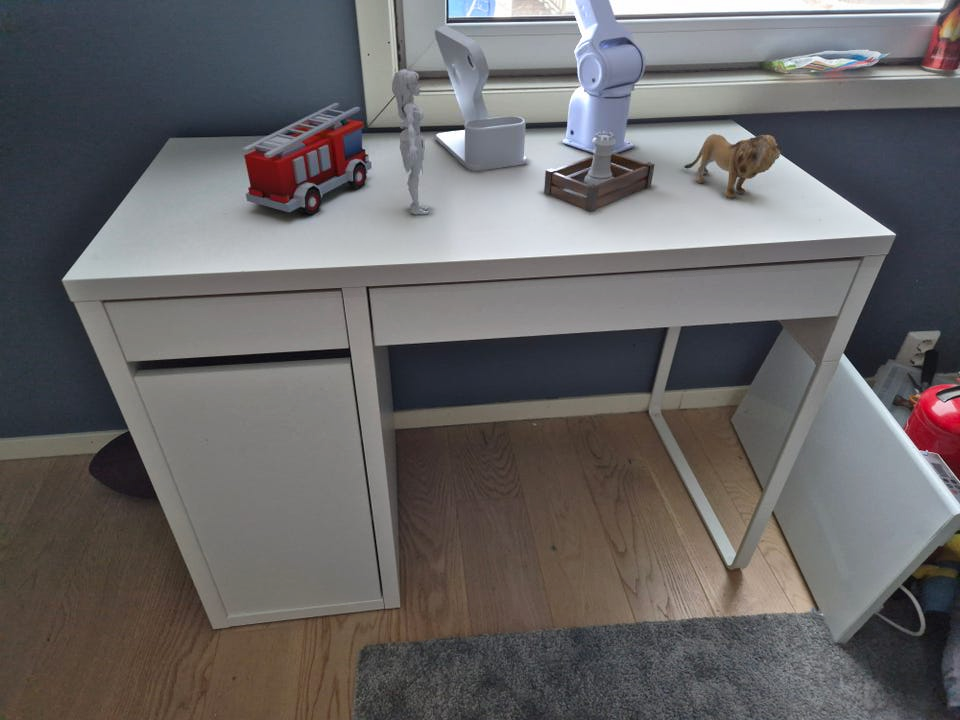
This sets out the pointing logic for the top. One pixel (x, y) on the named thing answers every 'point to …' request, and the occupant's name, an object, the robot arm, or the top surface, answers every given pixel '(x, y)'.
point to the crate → (602, 192)
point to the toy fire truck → (307, 161)
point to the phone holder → (477, 110)
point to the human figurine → (410, 131)
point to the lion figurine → (737, 159)
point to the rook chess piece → (601, 159)
